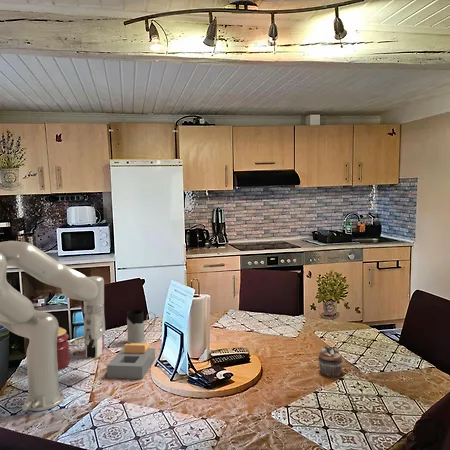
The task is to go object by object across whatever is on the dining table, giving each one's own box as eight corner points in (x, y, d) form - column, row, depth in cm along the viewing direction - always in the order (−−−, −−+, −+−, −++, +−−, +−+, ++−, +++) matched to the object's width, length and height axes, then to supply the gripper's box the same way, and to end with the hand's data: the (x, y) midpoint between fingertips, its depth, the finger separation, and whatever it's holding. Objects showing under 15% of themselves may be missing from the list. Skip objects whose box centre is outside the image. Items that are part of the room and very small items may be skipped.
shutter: (144, 353, 167) (144, 345, 166) (124, 352, 168) (124, 344, 167) (150, 345, 175) (150, 338, 175) (130, 344, 176) (130, 337, 176)
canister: (57, 374, 160) (55, 331, 159) (29, 371, 163) (26, 329, 161) (76, 360, 173) (74, 320, 171) (49, 358, 175) (47, 319, 174)
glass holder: (125, 340, 195) (124, 310, 193) (153, 336, 201) (153, 306, 199) (128, 347, 187) (127, 315, 185) (158, 342, 193) (157, 311, 191)
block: (97, 361, 154) (97, 337, 154) (85, 360, 155) (85, 336, 154) (102, 357, 159) (102, 333, 159) (91, 356, 159) (90, 332, 159)
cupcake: (315, 374, 157) (315, 349, 156) (321, 364, 165) (321, 341, 164) (340, 379, 152) (340, 354, 151) (345, 369, 161) (345, 345, 160)
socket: (142, 378, 155) (142, 366, 154) (107, 377, 156) (107, 365, 156) (155, 359, 173) (154, 348, 172) (123, 358, 174) (123, 347, 174)
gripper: (94, 314, 147) (94, 363, 148) (111, 303, 164) (111, 347, 165) (74, 313, 148) (74, 362, 149) (93, 303, 165) (93, 346, 166)
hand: (94, 354), depth 157 cm, fingers closed on block, 4 cm apart
